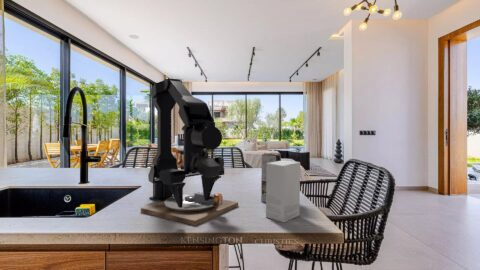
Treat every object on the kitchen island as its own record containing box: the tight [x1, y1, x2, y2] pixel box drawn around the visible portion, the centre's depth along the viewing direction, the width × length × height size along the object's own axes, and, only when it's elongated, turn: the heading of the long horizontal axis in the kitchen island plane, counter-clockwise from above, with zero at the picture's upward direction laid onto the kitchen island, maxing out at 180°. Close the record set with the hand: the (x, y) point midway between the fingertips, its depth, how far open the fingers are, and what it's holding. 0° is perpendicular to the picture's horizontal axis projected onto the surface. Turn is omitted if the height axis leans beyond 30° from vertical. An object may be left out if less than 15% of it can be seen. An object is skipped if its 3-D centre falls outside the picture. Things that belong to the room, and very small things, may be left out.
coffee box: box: [260, 152, 282, 203], centre depth 96 cm, size 9×6×16 cm
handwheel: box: [165, 192, 224, 212], centre depth 83 cm, size 19×16×4 cm
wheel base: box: [140, 199, 239, 226], centre depth 83 cm, size 21×21×1 cm
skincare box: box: [265, 159, 301, 223], centre depth 76 cm, size 8×7×16 cm
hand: (194, 203), depth 74 cm, fingers open, 9 cm apart
